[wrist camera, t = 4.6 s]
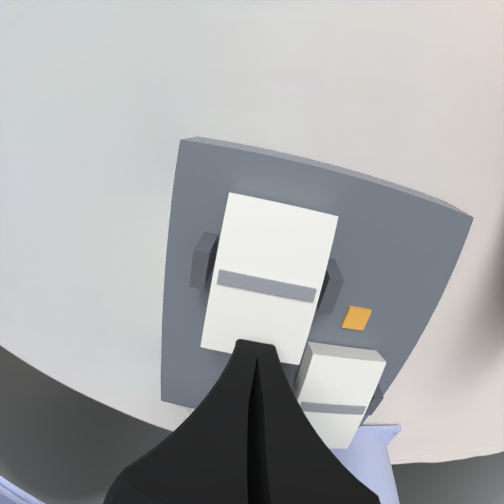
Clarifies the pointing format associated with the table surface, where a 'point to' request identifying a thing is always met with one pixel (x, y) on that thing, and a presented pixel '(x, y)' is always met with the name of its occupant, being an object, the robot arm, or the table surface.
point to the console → (338, 268)
